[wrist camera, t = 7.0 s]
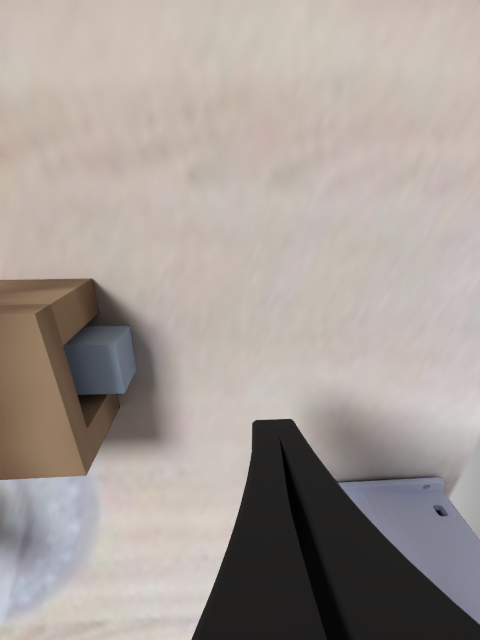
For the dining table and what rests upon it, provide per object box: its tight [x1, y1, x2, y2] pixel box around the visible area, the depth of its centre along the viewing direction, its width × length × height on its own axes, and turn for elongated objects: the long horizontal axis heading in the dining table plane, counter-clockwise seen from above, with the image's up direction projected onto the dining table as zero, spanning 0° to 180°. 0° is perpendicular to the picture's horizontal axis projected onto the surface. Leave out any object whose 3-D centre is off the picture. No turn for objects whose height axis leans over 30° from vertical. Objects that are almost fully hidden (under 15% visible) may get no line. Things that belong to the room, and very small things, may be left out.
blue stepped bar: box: [63, 326, 137, 395], centre depth 15 cm, size 10×3×2 cm, turn 89°
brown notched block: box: [0, 279, 120, 480], centre depth 13 cm, size 6×8×5 cm
